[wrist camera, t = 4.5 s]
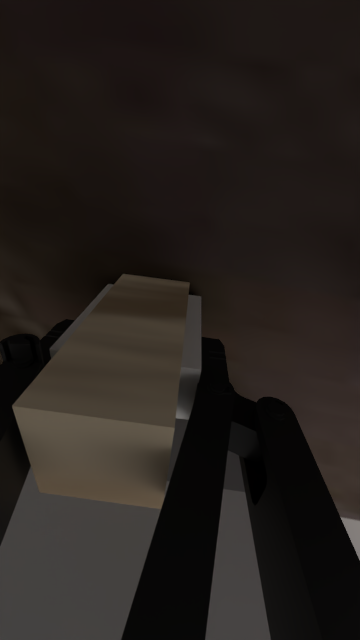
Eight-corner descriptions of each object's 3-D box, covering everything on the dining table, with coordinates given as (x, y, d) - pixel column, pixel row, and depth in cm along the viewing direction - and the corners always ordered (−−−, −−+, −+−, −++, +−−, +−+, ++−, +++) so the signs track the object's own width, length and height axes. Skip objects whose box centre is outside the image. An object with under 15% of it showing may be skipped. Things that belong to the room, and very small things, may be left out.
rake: (31, 261, 15) (-209, 376, 6) (189, 282, 15) (174, 427, 6) (68, 459, 25) (-4, 612, 16) (163, 472, 25) (143, 633, 16)
